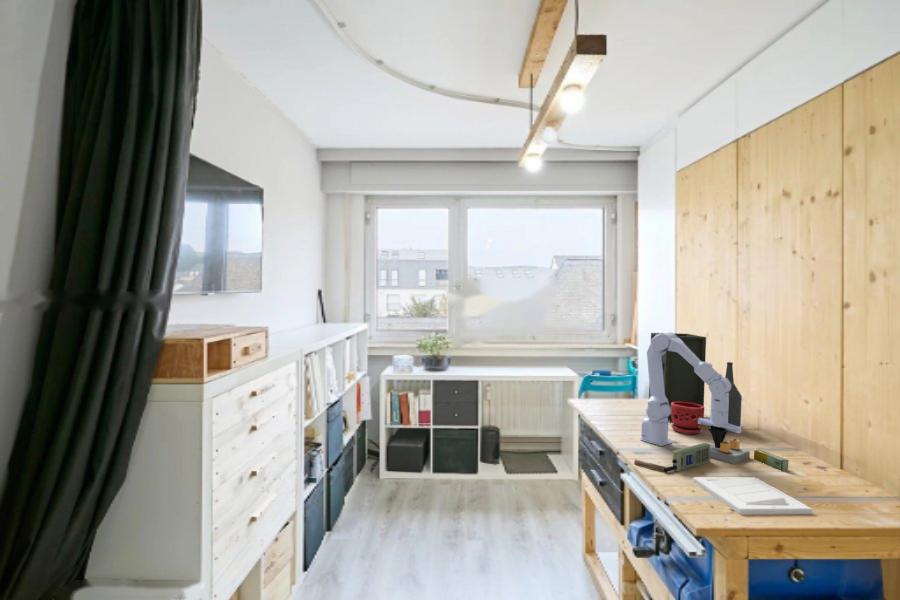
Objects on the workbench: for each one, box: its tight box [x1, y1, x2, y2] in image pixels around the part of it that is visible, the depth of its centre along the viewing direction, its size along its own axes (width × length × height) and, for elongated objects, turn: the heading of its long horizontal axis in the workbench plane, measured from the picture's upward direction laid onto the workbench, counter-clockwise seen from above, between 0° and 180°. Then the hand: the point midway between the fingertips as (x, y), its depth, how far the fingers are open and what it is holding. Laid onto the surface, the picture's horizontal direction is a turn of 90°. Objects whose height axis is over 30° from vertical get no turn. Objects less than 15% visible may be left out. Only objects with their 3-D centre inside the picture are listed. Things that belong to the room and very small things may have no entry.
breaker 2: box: [729, 437, 741, 450], centre depth 180 cm, size 2×2×3 cm
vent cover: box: [692, 476, 813, 515], centre depth 144 cm, size 23×3×21 cm
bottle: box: [724, 361, 743, 433], centre depth 217 cm, size 10×10×30 cm
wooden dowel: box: [634, 459, 667, 473], centre depth 166 cm, size 10×2×2 cm
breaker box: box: [709, 442, 751, 465], centre depth 180 cm, size 12×12×3 cm
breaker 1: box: [720, 441, 731, 453], centre depth 176 cm, size 2×2×3 cm
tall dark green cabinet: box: [648, 332, 707, 422], centre depth 237 cm, size 18×18×40 cm
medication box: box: [753, 449, 790, 472], centre depth 171 cm, size 12×3×4 cm, turn 13°
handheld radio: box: [663, 442, 711, 473], centre depth 168 cm, size 7×3×25 cm
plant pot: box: [671, 402, 705, 435], centre depth 212 cm, size 13×13×12 cm
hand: (718, 447), depth 178 cm, fingers closed
